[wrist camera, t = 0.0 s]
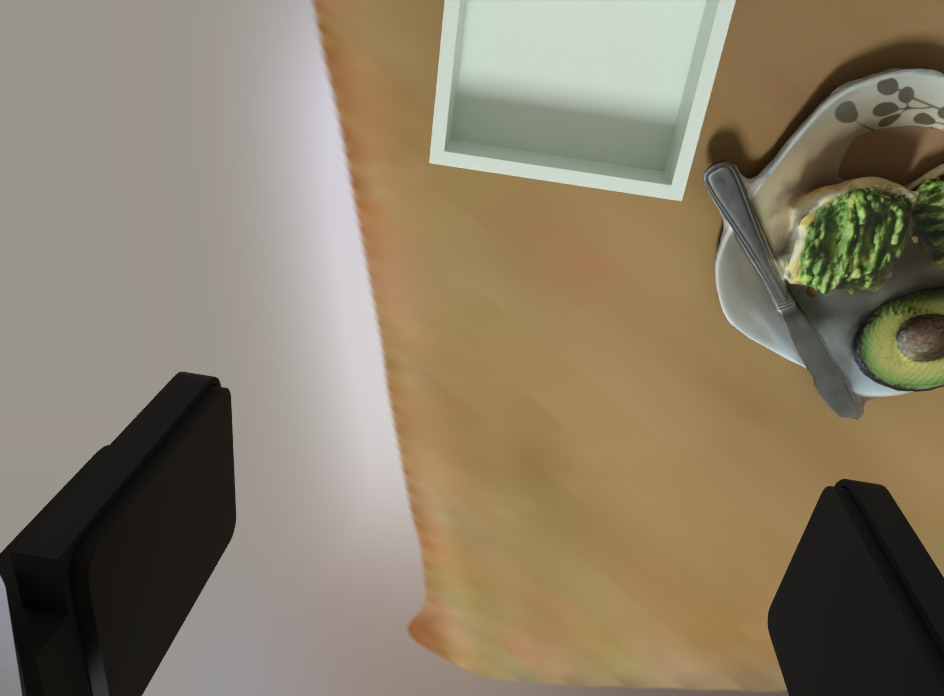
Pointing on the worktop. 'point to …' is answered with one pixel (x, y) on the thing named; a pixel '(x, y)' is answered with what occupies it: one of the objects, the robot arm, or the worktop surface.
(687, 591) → the worktop surface
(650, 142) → the bin
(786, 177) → the avocado toast plate
